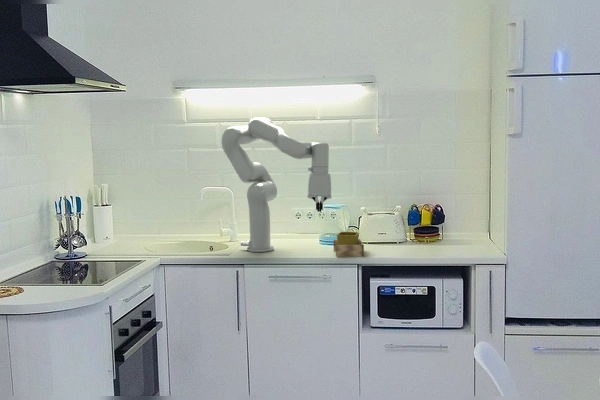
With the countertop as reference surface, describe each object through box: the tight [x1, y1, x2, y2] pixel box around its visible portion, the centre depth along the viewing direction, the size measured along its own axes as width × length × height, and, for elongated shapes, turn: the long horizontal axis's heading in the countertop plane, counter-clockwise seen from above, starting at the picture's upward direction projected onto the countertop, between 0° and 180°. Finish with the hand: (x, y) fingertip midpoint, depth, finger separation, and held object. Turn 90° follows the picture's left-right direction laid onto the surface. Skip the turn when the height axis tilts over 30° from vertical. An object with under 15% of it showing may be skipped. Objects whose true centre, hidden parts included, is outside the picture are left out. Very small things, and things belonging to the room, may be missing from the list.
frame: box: [333, 238, 365, 258], centre depth 292 cm, size 12×15×5 cm
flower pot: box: [336, 231, 360, 245], centre depth 293 cm, size 9×9×9 cm
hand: (319, 211), depth 291 cm, fingers closed
